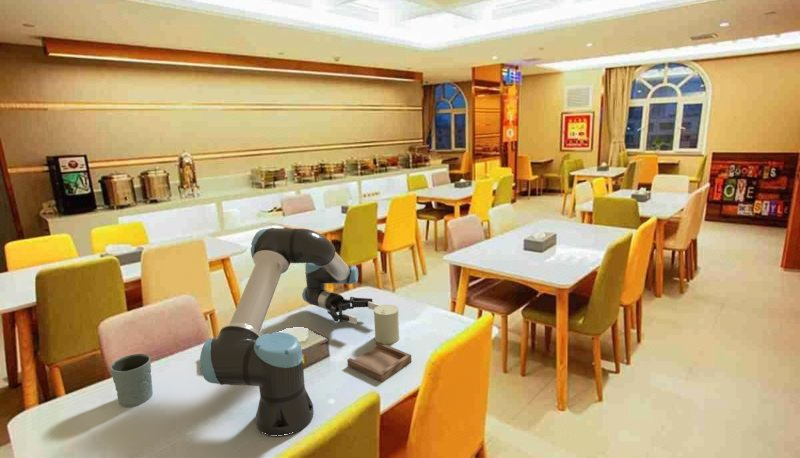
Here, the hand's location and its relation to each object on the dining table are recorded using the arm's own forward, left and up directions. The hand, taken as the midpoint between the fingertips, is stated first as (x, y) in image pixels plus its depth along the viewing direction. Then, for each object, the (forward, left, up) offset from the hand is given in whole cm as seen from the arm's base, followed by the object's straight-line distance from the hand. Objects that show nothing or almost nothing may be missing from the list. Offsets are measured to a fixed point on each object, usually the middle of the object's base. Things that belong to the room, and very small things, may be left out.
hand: (368, 314), depth 165 cm
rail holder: (-15, -19, -7) cm, 25 cm away
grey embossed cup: (-73, +26, -7) cm, 78 cm away
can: (0, -9, -7) cm, 12 cm away
